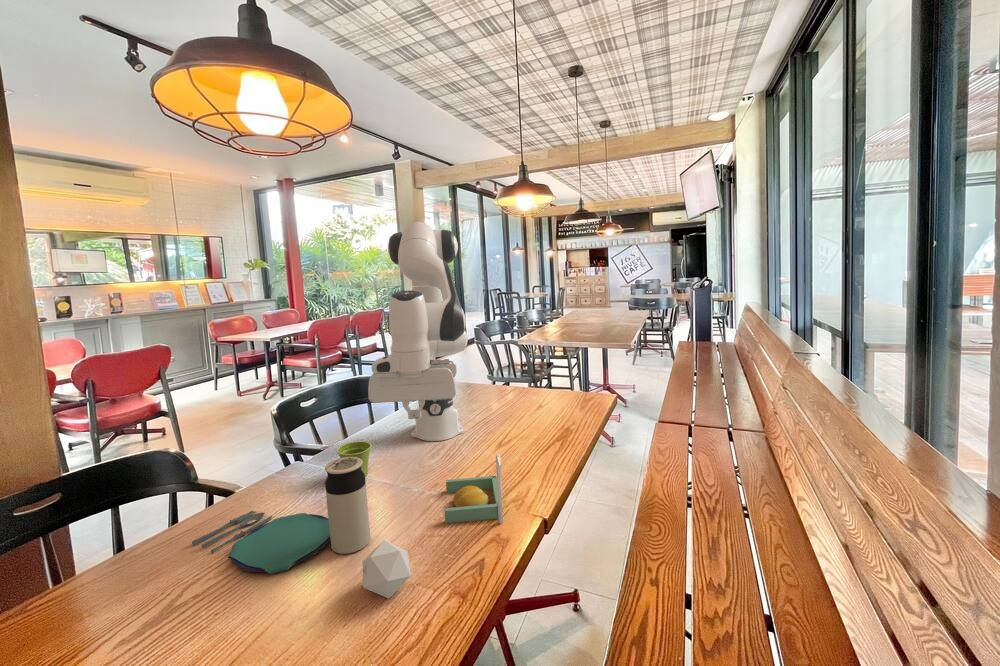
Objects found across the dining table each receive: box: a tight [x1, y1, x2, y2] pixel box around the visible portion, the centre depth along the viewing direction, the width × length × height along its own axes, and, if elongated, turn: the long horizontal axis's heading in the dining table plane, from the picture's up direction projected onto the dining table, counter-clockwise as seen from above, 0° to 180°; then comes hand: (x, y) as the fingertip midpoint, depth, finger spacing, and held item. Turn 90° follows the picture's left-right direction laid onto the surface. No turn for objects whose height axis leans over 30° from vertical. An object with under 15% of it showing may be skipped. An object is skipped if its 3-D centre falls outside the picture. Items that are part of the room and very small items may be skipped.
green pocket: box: [444, 454, 504, 525], centre depth 104 cm, size 22×13×16 cm, turn 6°
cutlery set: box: [191, 510, 331, 574], centre depth 96 cm, size 20×30×2 cm, turn 65°
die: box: [361, 539, 412, 600], centre depth 79 cm, size 8×9×10 cm
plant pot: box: [336, 440, 372, 478], centre depth 125 cm, size 9×9×9 cm
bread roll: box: [452, 486, 489, 507], centre depth 108 cm, size 8×9×4 cm
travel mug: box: [324, 457, 371, 555], centre depth 93 cm, size 8×8×18 cm
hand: (414, 417), depth 104 cm, fingers closed
